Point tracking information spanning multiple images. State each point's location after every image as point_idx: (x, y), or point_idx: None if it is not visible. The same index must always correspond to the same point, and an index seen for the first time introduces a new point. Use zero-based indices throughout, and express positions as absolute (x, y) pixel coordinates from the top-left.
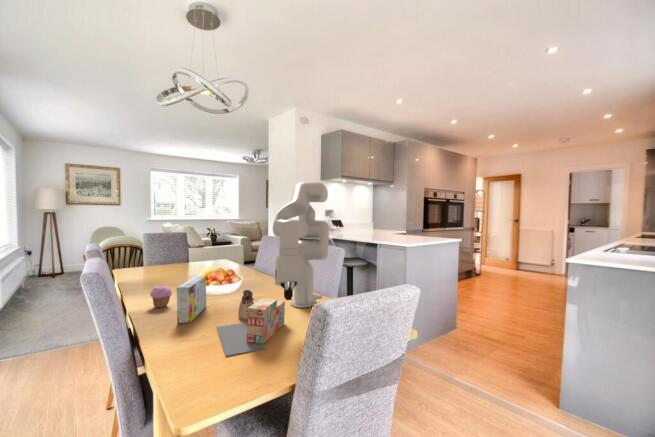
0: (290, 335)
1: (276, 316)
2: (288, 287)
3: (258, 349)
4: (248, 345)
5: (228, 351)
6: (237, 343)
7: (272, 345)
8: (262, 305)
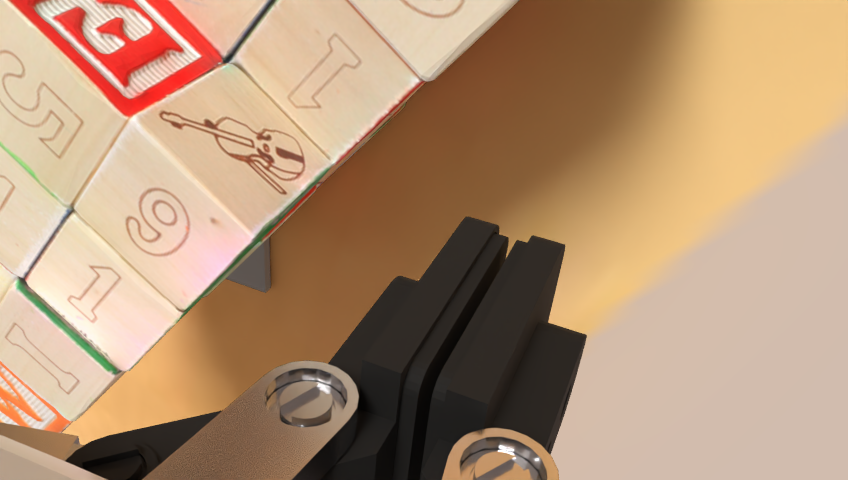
0: (567, 219)
1: (394, 112)
2: (425, 464)
3: None
4: None
5: None
6: None
7: (336, 273)
8: (5, 356)
